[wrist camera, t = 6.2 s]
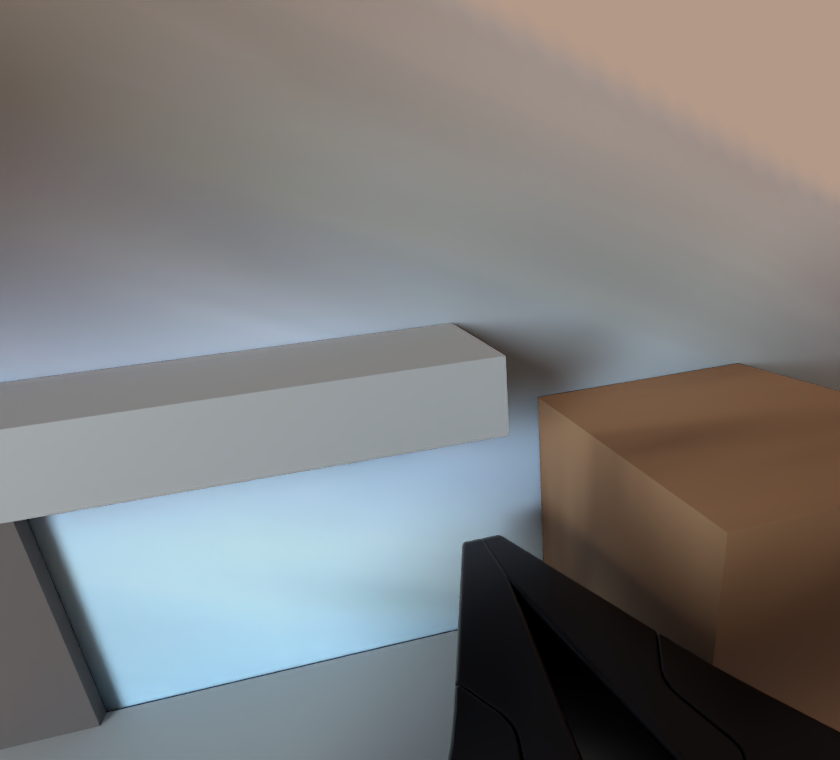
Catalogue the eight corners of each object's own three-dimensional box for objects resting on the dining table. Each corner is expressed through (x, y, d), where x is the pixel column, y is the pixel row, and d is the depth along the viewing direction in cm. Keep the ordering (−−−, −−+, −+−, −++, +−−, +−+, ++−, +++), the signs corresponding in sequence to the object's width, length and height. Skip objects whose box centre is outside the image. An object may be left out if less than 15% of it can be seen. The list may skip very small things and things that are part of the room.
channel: (478, 662, 12) (525, 796, 9) (7, 778, 10) (-123, 988, 7) (451, 322, 9) (505, 356, 6) (-191, 408, 7) (-518, 505, 5)
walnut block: (719, 542, 12) (970, 732, 7) (543, 583, 11) (695, 823, 7) (738, 363, 11) (1068, 454, 6) (538, 397, 10) (727, 532, 5)
